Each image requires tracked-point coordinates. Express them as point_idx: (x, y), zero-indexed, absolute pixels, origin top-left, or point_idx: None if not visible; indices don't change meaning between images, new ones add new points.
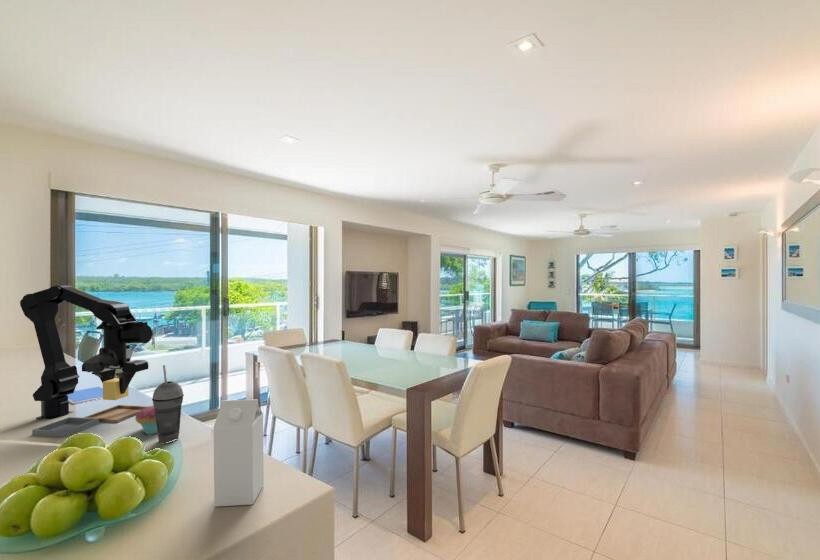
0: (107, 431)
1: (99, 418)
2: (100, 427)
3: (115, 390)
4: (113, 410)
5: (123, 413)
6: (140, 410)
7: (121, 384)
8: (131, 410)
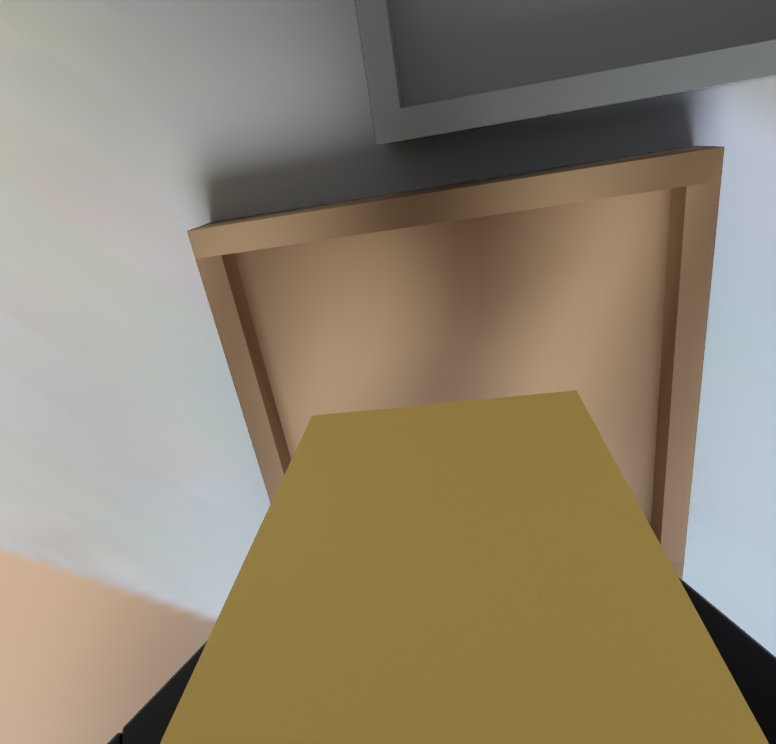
0: (89, 29)
1: (455, 203)
2: (303, 99)
3: (257, 533)
4: (636, 484)
5: None
6: None
7: (145, 721)
8: None
